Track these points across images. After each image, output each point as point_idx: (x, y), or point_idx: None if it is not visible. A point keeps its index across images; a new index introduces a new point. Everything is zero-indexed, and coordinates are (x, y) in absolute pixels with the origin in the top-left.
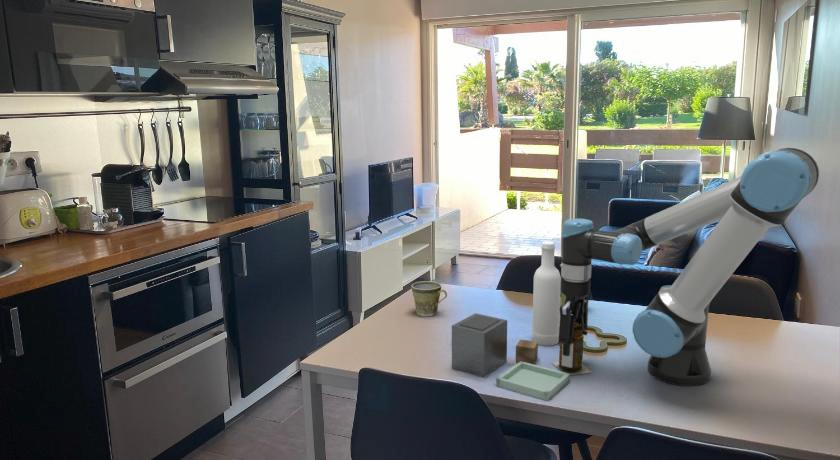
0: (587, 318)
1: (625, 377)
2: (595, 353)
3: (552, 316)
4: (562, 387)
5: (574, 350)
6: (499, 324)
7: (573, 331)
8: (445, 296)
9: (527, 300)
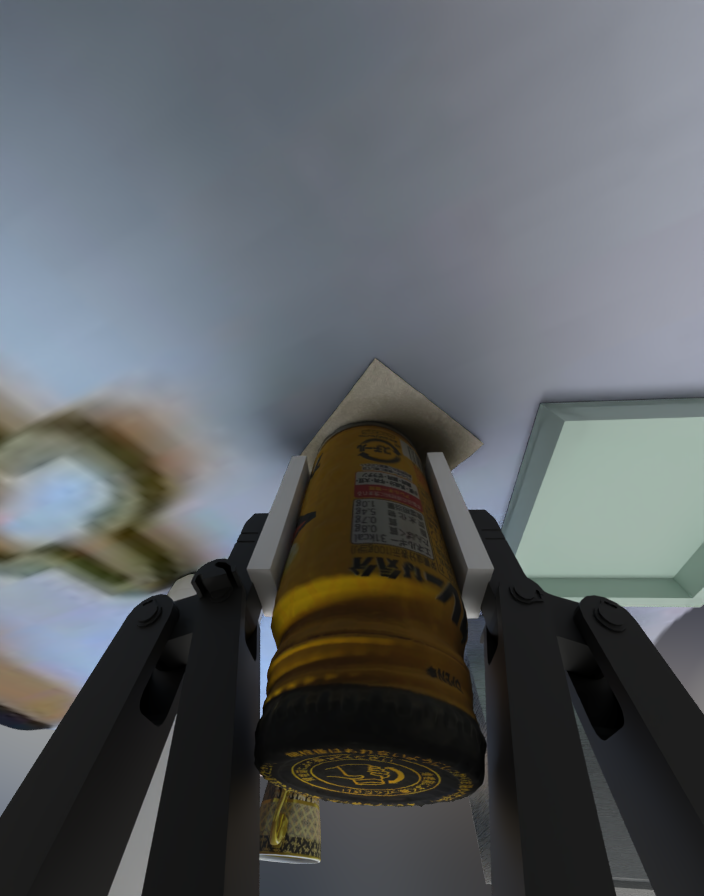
0: (44, 753)
1: (299, 105)
2: (145, 440)
3: (170, 734)
4: (640, 400)
5: (429, 514)
6: (615, 877)
7: (514, 715)
8: (277, 818)
9: (35, 694)
